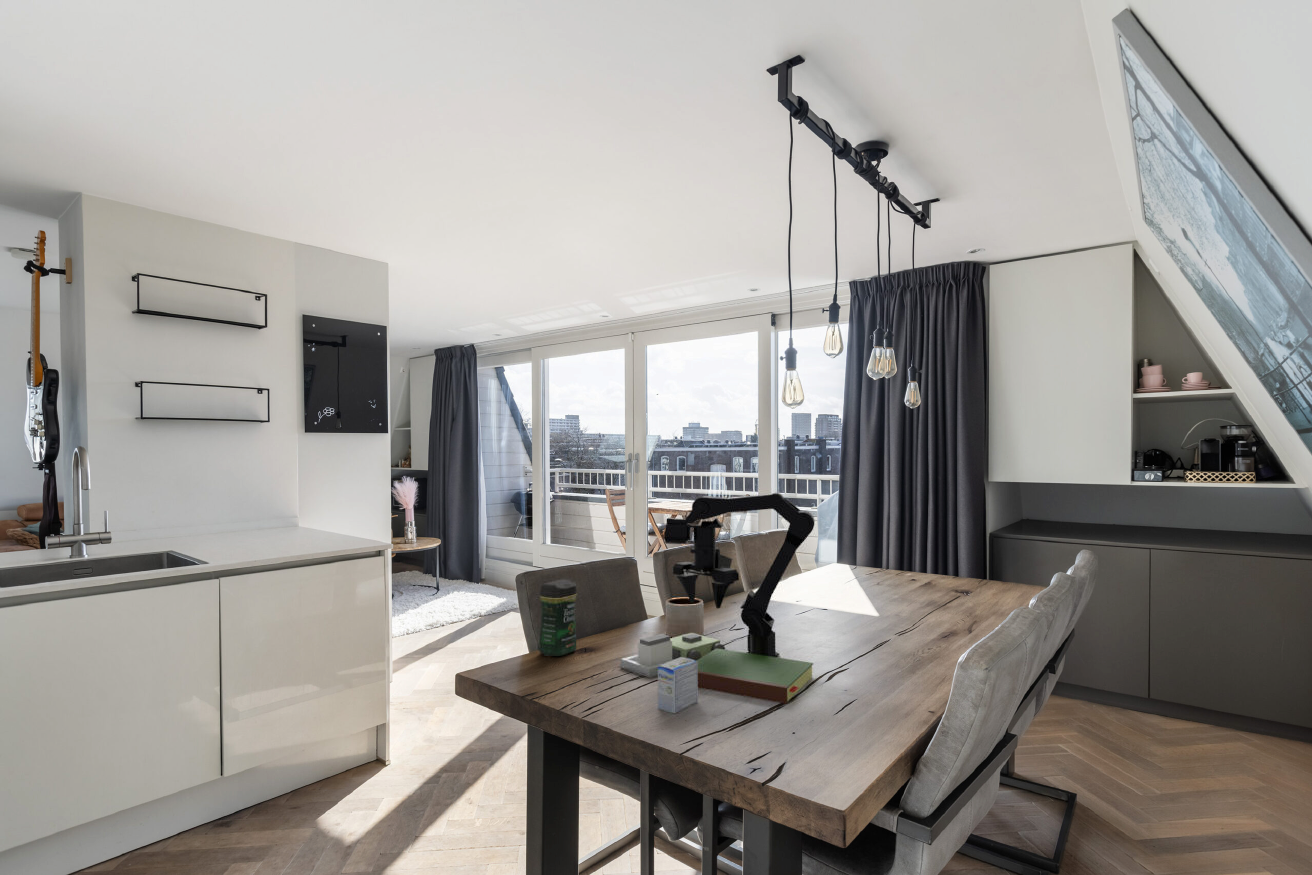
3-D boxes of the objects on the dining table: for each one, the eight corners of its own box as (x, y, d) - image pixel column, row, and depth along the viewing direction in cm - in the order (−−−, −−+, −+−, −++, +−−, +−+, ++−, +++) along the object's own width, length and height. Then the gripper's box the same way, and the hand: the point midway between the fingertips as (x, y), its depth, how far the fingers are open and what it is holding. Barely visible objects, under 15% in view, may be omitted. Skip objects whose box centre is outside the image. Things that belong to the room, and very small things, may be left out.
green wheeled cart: (725, 657, 166) (725, 637, 166) (690, 668, 158) (689, 647, 158) (687, 646, 176) (687, 627, 176) (652, 656, 168) (652, 636, 168)
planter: (660, 638, 184) (660, 603, 185) (671, 628, 195) (671, 596, 195) (698, 641, 181) (698, 606, 182) (707, 631, 192) (707, 598, 192)
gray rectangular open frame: (686, 666, 159) (686, 658, 159) (649, 677, 151) (649, 668, 151) (657, 657, 167) (657, 649, 167) (620, 667, 159) (620, 658, 159)
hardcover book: (681, 686, 146) (681, 669, 147) (716, 663, 163) (716, 648, 163) (790, 707, 134) (790, 688, 134) (816, 679, 150) (816, 663, 150)
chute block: (672, 665, 160) (672, 636, 160) (650, 672, 155) (650, 642, 155) (659, 661, 163) (659, 633, 163) (638, 667, 158) (638, 638, 159)
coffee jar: (558, 659, 165) (558, 584, 166) (534, 654, 169) (534, 582, 170) (582, 649, 174) (581, 578, 174) (558, 645, 178) (558, 576, 178)
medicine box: (681, 697, 138) (680, 656, 139) (698, 702, 135) (698, 660, 136) (657, 709, 132) (656, 665, 132) (674, 714, 129) (674, 669, 130)
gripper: (752, 545, 170) (753, 606, 170) (700, 539, 184) (701, 595, 184) (723, 549, 163) (723, 613, 162) (671, 542, 177) (671, 601, 176)
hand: (705, 605), depth 171 cm, fingers open, 9 cm apart
